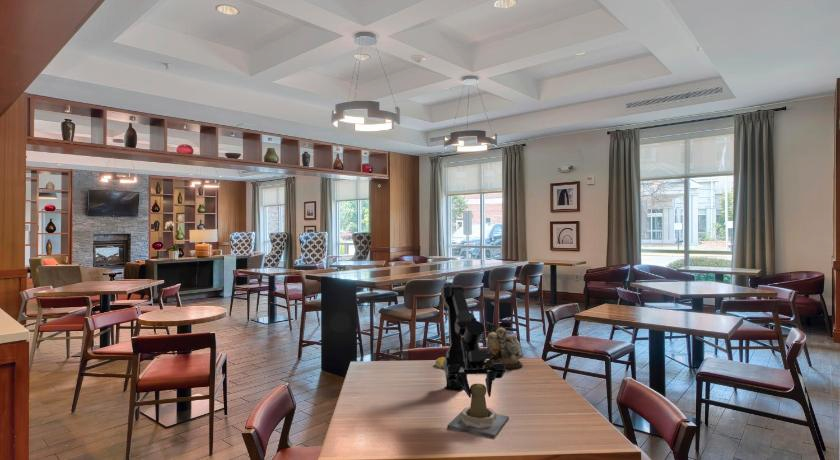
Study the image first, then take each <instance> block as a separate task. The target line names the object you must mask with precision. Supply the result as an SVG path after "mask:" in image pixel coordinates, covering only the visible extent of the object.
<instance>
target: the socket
mask: <svg viewBox="0 0 840 460" xmlns="http://www.w3.org/2000/svg"><path fill="white" fill-rule="evenodd" d="M487 414H488V417H485V418H476V417H470V416H469V415H470V406H469V407H465V408H464V409H462V410H461V411H460V412H459V414H457V415H456V416H455V417H454V418H453V419H452V420H451V421H450V422H449V423H448V424H447V426H446V427H447V429H449V430H453V431H459V432H463V433H469V434H473V435H477V436H483V437H488V438H493V439H495V438H497V436H498V435H499V433H500V432H501V430H503V428H504V427H505V425H506V424H507V423H508V421H509V420H510V416H509V415H503V414H498V413H497V412H496V411H494V410H493V409H492V408H489V407H487Z"/></svg>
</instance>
